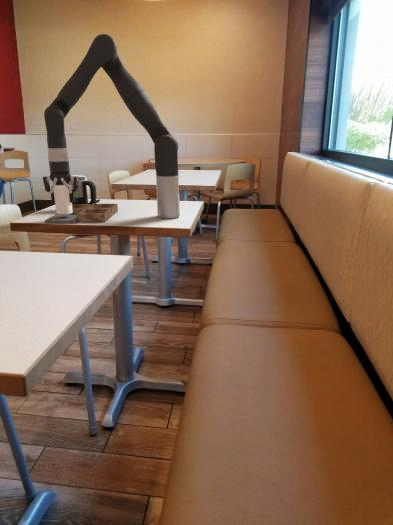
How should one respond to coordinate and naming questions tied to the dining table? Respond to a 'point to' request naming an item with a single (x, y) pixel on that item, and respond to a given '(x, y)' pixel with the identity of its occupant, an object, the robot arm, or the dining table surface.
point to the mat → (62, 219)
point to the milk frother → (84, 192)
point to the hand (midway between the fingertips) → (63, 202)
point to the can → (62, 200)
